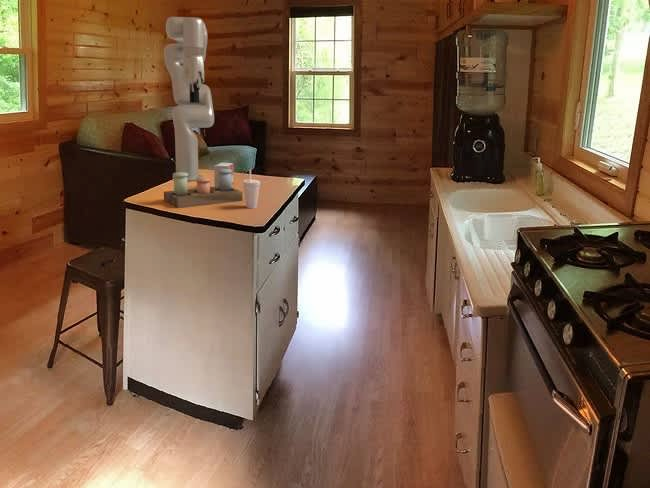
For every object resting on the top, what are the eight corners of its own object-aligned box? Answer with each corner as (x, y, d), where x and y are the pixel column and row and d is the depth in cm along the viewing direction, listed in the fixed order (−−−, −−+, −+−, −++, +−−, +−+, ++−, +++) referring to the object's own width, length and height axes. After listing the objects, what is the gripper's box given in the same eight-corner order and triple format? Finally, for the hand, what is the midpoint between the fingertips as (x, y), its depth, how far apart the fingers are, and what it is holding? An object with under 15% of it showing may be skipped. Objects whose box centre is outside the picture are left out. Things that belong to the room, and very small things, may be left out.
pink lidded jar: (193, 198, 236) (193, 178, 234) (206, 197, 239) (206, 176, 237) (200, 201, 232) (199, 180, 229) (213, 199, 235) (213, 179, 233)
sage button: (171, 193, 230) (170, 172, 228) (184, 192, 233) (184, 171, 231) (177, 196, 226) (176, 175, 223) (191, 195, 229) (190, 174, 227)
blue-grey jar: (215, 189, 240) (215, 169, 238) (227, 188, 243) (227, 168, 241) (221, 192, 236) (221, 171, 234) (234, 190, 239) (234, 170, 237)
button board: (164, 200, 233) (163, 191, 232) (226, 193, 248) (226, 185, 247) (178, 208, 223) (178, 198, 222) (242, 200, 238) (242, 191, 237)
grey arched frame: (227, 192, 251) (227, 166, 248) (214, 191, 252) (214, 165, 249) (234, 188, 259) (234, 163, 256) (221, 187, 260) (221, 162, 257)
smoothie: (244, 204, 232) (244, 167, 228) (261, 205, 232) (261, 168, 228) (241, 208, 226) (241, 170, 222) (259, 209, 226) (259, 171, 222)
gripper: (175, 51, 237) (177, 100, 242) (192, 52, 226) (193, 104, 231) (194, 52, 241) (195, 100, 247) (211, 53, 230) (212, 104, 235)
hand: (194, 102), depth 239 cm, fingers closed
